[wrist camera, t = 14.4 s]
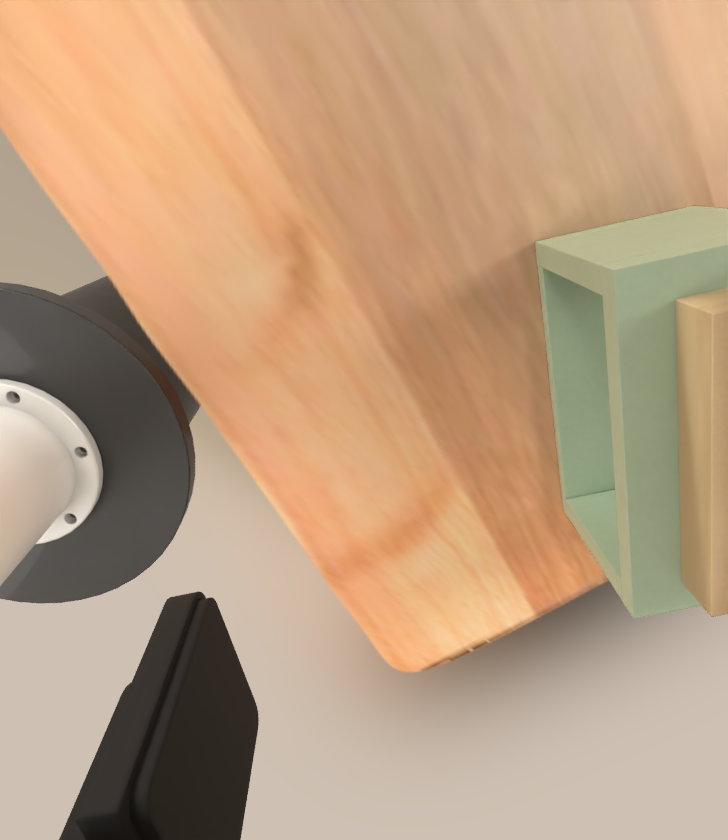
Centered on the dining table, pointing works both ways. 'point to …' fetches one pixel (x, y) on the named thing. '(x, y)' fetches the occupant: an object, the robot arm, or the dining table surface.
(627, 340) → the shelf
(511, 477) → the dining table surface
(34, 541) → the robot arm
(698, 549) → the stick
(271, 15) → the dining table surface
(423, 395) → the dining table surface
